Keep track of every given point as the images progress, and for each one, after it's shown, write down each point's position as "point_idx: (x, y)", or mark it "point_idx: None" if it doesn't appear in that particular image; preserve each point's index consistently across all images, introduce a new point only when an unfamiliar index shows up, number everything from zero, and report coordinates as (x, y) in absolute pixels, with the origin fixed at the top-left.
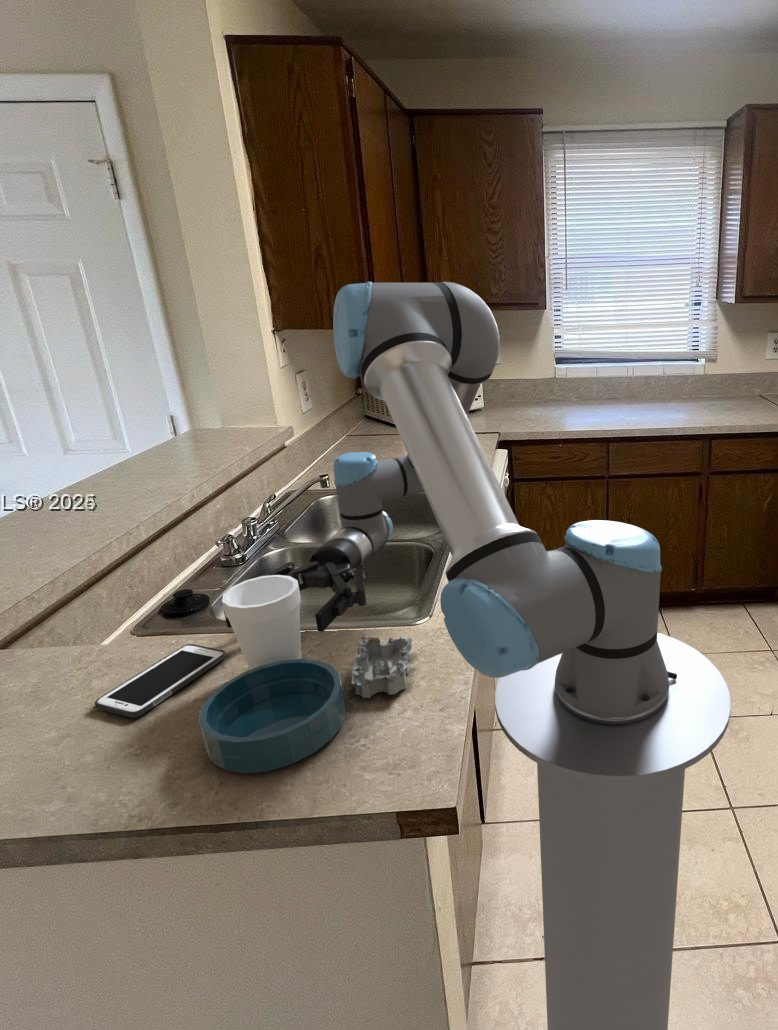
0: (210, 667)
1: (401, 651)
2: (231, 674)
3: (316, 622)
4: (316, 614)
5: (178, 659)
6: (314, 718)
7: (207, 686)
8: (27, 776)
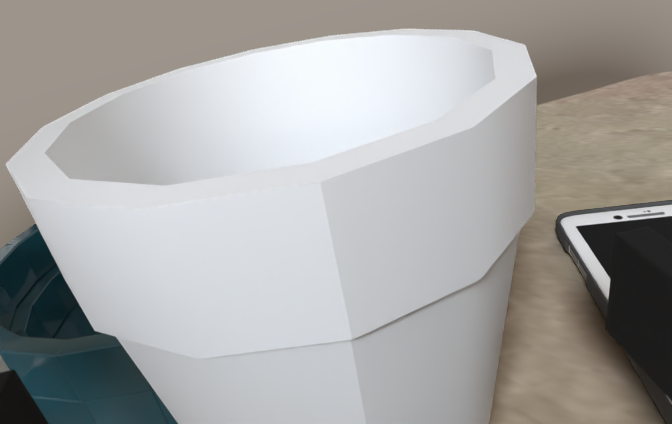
0: (653, 398)
1: None
2: (539, 418)
3: (41, 412)
4: (4, 373)
5: None
6: (28, 229)
7: (543, 349)
8: (555, 147)
